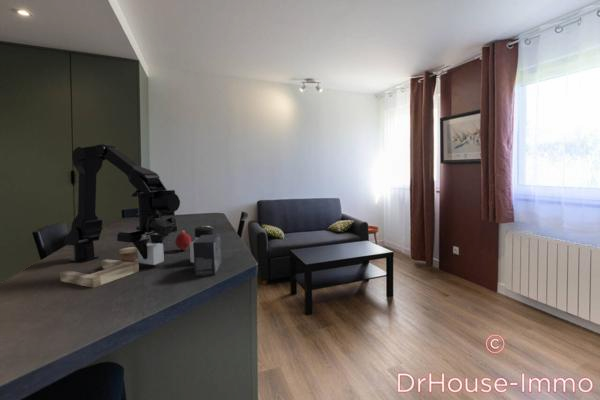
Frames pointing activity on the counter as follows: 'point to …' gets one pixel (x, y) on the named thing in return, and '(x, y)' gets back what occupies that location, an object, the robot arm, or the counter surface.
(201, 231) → the medicine bottle
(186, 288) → the counter surface
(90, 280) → the notched board
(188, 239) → the onion
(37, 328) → the counter surface
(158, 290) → the counter surface
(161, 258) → the tall pale grey block
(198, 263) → the small box
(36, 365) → the counter surface
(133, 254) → the wooden spool
